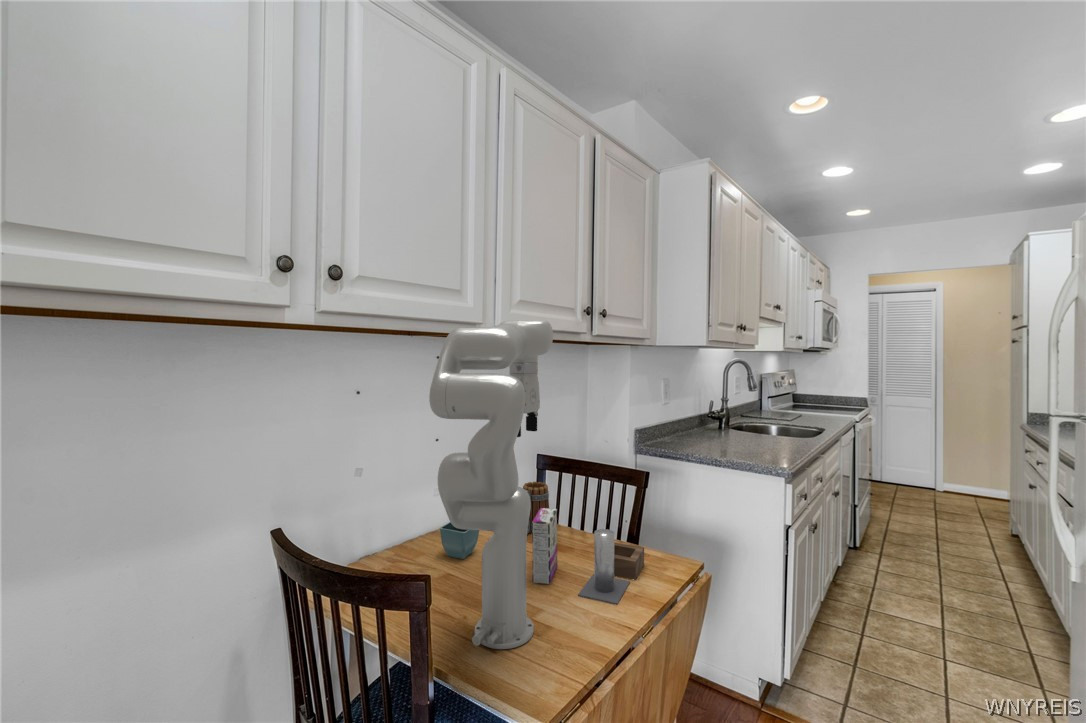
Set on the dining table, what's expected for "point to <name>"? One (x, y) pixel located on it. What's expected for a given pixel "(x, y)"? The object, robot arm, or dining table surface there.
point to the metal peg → (604, 560)
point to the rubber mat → (608, 597)
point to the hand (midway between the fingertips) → (523, 433)
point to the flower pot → (458, 540)
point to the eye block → (628, 560)
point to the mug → (536, 499)
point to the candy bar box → (544, 545)
